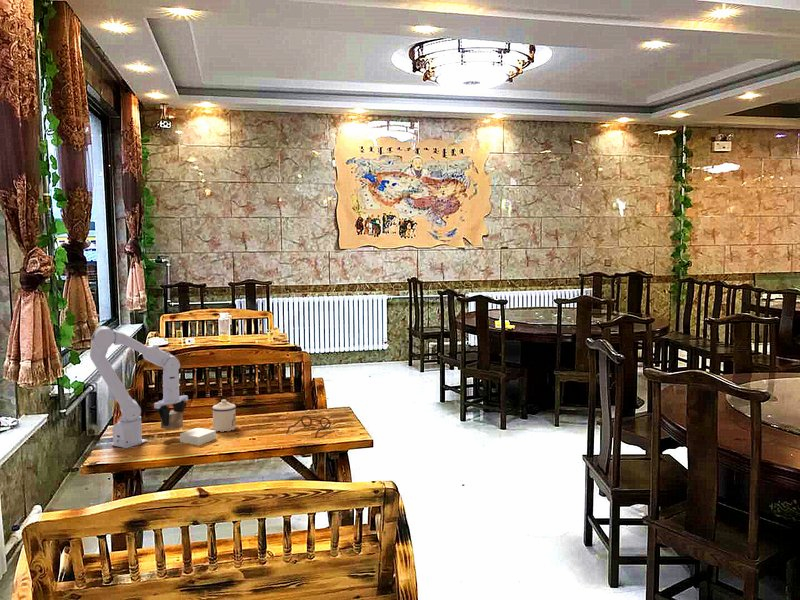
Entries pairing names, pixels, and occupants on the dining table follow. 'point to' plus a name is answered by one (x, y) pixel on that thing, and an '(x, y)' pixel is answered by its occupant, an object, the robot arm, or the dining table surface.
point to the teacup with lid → (224, 416)
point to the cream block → (197, 436)
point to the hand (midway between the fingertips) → (171, 423)
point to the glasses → (311, 423)
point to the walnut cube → (174, 420)
